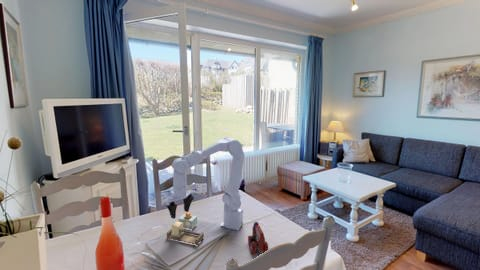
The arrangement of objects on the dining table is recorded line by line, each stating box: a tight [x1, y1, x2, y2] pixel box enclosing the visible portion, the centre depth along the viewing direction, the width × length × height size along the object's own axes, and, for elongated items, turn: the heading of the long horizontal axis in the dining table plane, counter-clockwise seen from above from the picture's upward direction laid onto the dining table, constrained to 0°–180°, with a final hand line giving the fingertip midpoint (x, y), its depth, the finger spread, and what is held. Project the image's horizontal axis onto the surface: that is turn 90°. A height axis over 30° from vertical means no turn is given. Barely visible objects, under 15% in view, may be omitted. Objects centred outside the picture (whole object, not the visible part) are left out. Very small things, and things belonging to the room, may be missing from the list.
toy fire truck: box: [247, 221, 269, 254], centre depth 98 cm, size 7×12×10 cm, turn 10°
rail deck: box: [166, 228, 205, 246], centre depth 102 cm, size 15×6×3 cm, turn 72°
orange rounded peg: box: [184, 211, 192, 219], centre depth 111 cm, size 2×2×3 cm
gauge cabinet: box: [178, 213, 198, 229], centre depth 112 cm, size 7×5×5 cm
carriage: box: [171, 220, 184, 238], centre depth 102 cm, size 5×4×5 cm
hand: (179, 214), depth 103 cm, fingers open, 7 cm apart
